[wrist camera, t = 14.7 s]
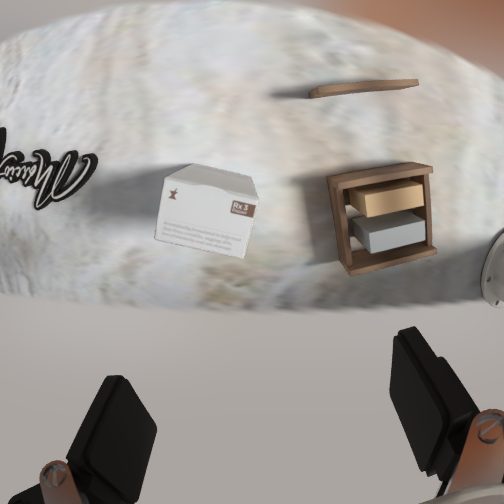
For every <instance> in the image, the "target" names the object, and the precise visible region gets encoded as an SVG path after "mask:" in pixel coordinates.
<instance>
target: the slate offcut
mask: <svg viewBox="0 0 504 504" xmlns="http://www.w3.org/2000/svg"><path fill="white" fill-rule="evenodd" d="M352 220H353V228H354V236H355V238H356V239H357V240H358V241H359V242H360V243H361V244H362V245H363V246H364V247H365V248H366V249H367V250H368V251H369V252H370V253H371V254H372V253H376V252H380V251H384V250H388V249H392V248H396V247H400V246H404V245H408V244H412V243H416V242H420V241H424V240H425V220H423V219H421V218H419V217H418V216H416V215H414V214H412V213H410V212H408V211H407V210H400V211H396V212H391V213H386V214H382V215H377V216H373V217H368V218H367V217H366V216H363V217H358V218H354V219H352Z"/></svg>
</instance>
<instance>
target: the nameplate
mask: <svg viewBox="0 0 504 504" xmlns="http://www.w3.org/2000/svg"><path fill="white" fill-rule="evenodd" d="M5 143H6V128H4V127H1V128H0V179H1V178H2V177H5V179H8V181H9V182H10V183H14V182H17V181H19V179H21V180H22V181H23V185H24V187H27V186H30V185H32V186H33V188H34V189H39V190H38V193H37V196H36V199H35V202H34V207H35V209H36V210H40V209H43V208H45V207H46V206H47V205H48V204H49V203H51V202H52V201H54V202H59V201H61V200H64V199H66V198H68V197H70V196H71V195H73V194H74V193H75V192H77V191H78V190H79V189H80V188H81V187H82V186H83V185H84V184H85V183H86V182H87V181H88V179H89V178H90V177H91V175H92V174H93V173H94V171H95V169H96V167H97V164H98V158H97V156H96V155H95V154H93V153H91V154H85V155H83V157H82V161H81V162H83V163H84V162H85V165H84V166H83V168H82V170H81V171H80V173H79V174H78V175H77V176H76V177H75V179H74V180H73V181H72V182H71V183H70V184H69V185H68V186H66V187H65V188H64V189H63V190H61V189H62V188H63V186H64V185H65V183H66V182H67V180H68V178H69V176H70V175H71V173H72V171H73V169H74V166H75V164H76V162H77V159H78V151H76V150H73V151H68V152H67V153H66V155H65V156H64V158H63V160H62V162H61V164H60V162H59V161H53V162H51V156H50V154H49V152H48V151H46V150H44V149H40V150H35V151H34V152H33V156H34V157H38V158H39V161H36V162H33V163H32V162H31V161H30V162H26V163H25V162H24V163H20V162H22V161H24V159H25V157H24V154H23V153H22V152H20V151H15V152H10V153H8V154H7V155H6V156H5V157H4V158H3V154H4V149H5ZM2 158H3V159H2ZM13 161H14V162H13Z"/></svg>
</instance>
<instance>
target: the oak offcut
mask: <svg viewBox="0 0 504 504" xmlns="http://www.w3.org/2000/svg"><path fill="white" fill-rule="evenodd" d="M348 192H349V199H350V205H351V206H353V207H354V208H355V209H357V210H358V211H359V212H361V213H362V214H363V215H365V216H366V217H367V218H368V217H373V216H377V215H382V214H386V213H391V212H396V211H400V210H405V209H410V208H414V207H419V206H424V200H423V187H422V184H419V183H416V182H414V181H411V180H408V179H405V178H399V179H394V180H388V181H383V182H377V183H372V184H366V185H361V186H356V187H351V188H348Z"/></svg>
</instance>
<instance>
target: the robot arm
mask: <svg viewBox="0 0 504 504" xmlns="http://www.w3.org/2000/svg"><path fill="white" fill-rule="evenodd" d="M481 288H482V294H483V296H484V299H485V300H486V301H487V302H488V303H489V304H490V305H491V306H493V307H496V308H500V307H504V233H503V234H502V235H501V236H500V237H499V238H498V239H497V240H496V242H495V243H494V245H493V247H492V248H491V250H490V252H489V254H488V256H487V259H486V262H485V265H484V268H483V272H482V279H481ZM389 391H390V397H391V400H392V402H393V405H394V407H395V409H396V412H397V414H398V416H399V419H400V421H401V424H402V426H403V428H404V431H405V433H406V436H407V438H408V441H409V443H410V446H411V448H412V451H413V453H414V456H415V458H416V461H417V464H418V467H419V469H420V471H421V472H423V471H426V474H427V476H428V477H430V476H432V475H434V474H437V476H438V478H439V480H440V481H441V483H440V486H439V488H438V490H437V492H436V495H435V497H434V499H432V500H429V501H426V502H423V503H420V504H504V412H503V411H502V410H498V409H488V410H484V411H482V412H480V411H479V409H478V407H477V406H476V404H475V403H474V401H473V400H472V398H471V397H470V395H469V394H468V392H467V390H466V389H465V387H464V386H463V384H462V383H461V381H460V380H459V378H458V377H457V375H456V374H455V372H454V371H453V369H452V368H451V367H450V365H449V364H448V362H447V361H446V360H445V359H444V358H443V357H437V356H436V355H435V353H434V352H433V351H432V349H431V347H430V346H429V345H428V343H427V342H426V340H425V339H424V338H423V336H422V335H421V333H420V332H419V330H418V329H417V328H416V327H415V326H413V327H410V328H406V329H403V330H400V331H399V332H398V335H397V336H394V339H393V354H392V368H391V379H390V389H389ZM156 433H157V426H156V424H155V422H154V420H153V419H152V418H151V416H150V414H149V413H148V411H147V410H146V408H145V407H144V405H143V404H142V402H141V401H140V399H139V397H138V396H137V394H136V392H135V391H134V389H133V388H132V386H131V384H130V382H129V381H128V380H127V379H125V378H124V377H123V376H122V375H114V376H112V375H111V376H107V377H106V378H105V379H104V381H103V383H102V385H101V387H100V389H99V391H98V393H97V395H96V397H95V399H94V401H93V403H92V404H91V406H90V408H89V410H88V412H87V415H86V416H85V418H84V420H83V422H82V424H81V426H80V429H79V431H78V433H77V435H76V437H75V439H74V441H73V443H72V445H71V447H70V449H69V452H68V454H67V456H66V459H67V460H68V463H67V464H66V463H65V462H63V461H60V460H56V461H52V462H50V463H48V464H46V466H45V467H44V468H43V469H42V471H41V473H40V477H39V478H40V483H39V484H37V485H35V486H33V487H31V488H29V489H27V490H25V491H23V492H21V493H19V494H17V495H15V496H13V497H12V498H11V499H10V500H9V502H8V504H134V503H135V502H137V501H138V499H139V496H140V492H141V488H142V484H143V480H144V477H145V473H146V469H147V465H148V462H149V458H150V455H151V451H152V447H153V444H154V440H155V436H156Z"/></svg>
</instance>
